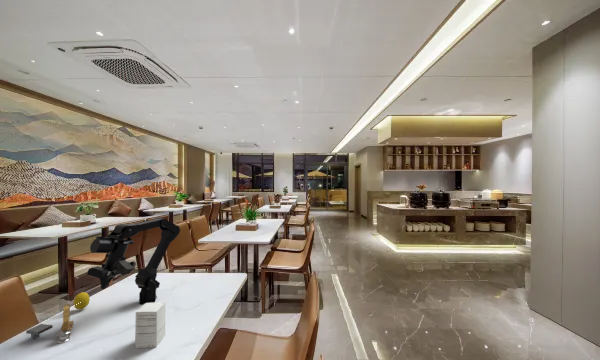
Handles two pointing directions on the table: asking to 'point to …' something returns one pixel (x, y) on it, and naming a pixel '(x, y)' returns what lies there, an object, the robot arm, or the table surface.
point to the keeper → (38, 330)
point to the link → (67, 319)
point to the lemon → (81, 300)
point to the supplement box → (150, 325)
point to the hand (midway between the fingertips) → (103, 288)
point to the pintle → (63, 336)
